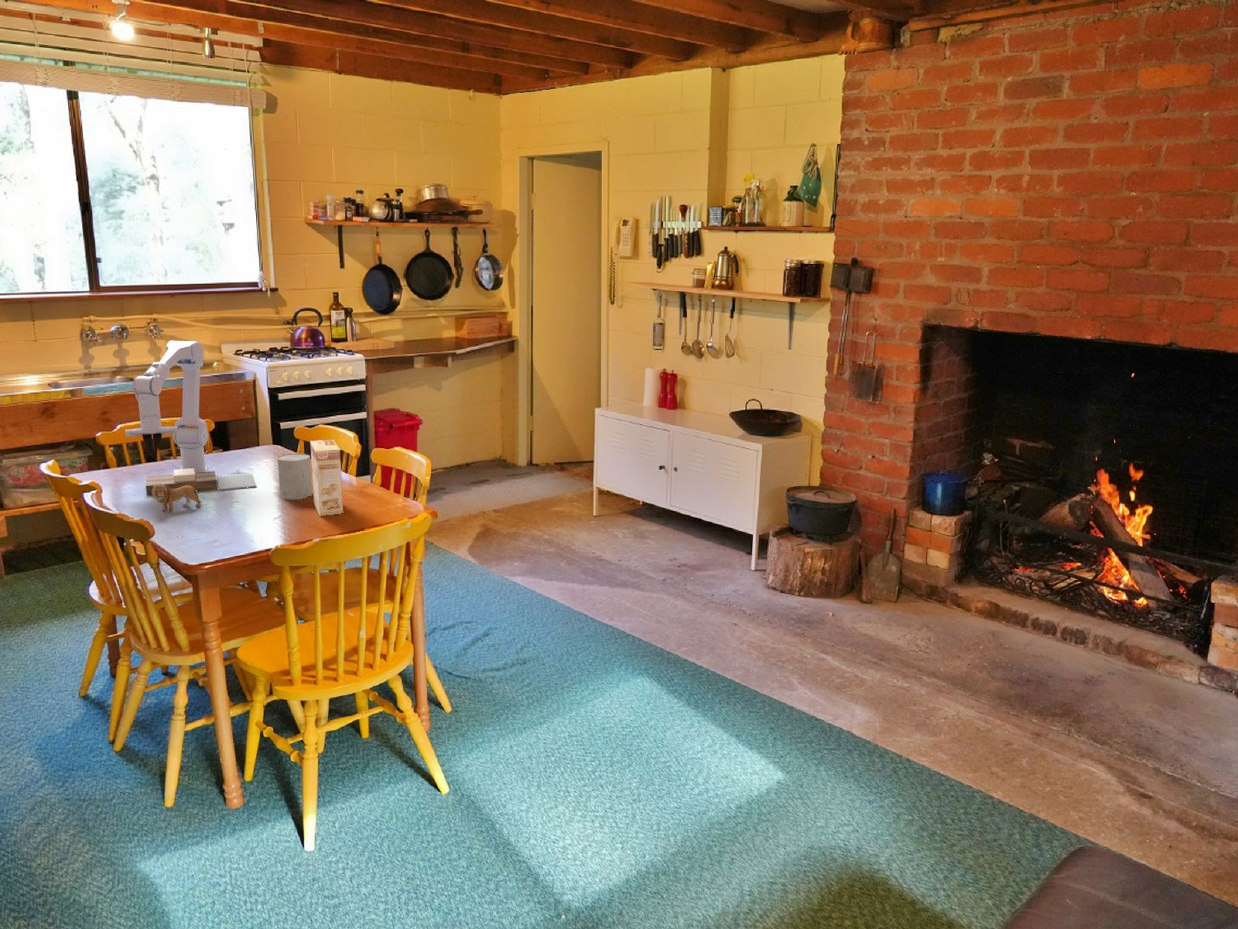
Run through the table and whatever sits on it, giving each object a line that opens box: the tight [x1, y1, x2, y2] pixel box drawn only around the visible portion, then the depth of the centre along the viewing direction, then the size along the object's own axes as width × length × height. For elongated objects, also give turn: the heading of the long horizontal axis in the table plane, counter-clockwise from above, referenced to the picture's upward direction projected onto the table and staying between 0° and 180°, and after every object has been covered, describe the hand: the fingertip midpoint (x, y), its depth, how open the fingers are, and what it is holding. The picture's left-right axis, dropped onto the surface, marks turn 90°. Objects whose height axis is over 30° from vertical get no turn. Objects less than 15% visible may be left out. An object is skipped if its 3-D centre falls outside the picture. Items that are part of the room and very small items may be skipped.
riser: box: [145, 470, 218, 496], centre depth 296 cm, size 12×20×3 cm, turn 115°
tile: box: [173, 468, 195, 482], centre depth 296 cm, size 8×6×2 cm
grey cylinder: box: [277, 453, 313, 501], centre depth 289 cm, size 10×10×12 cm
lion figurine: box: [152, 484, 203, 514], centre depth 273 cm, size 15×5×9 cm, turn 147°
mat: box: [216, 473, 257, 491], centre depth 303 cm, size 16×11×1 cm
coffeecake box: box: [310, 439, 344, 517], centre depth 275 cm, size 15×7×20 cm, turn 23°
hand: (154, 457), depth 291 cm, fingers closed
